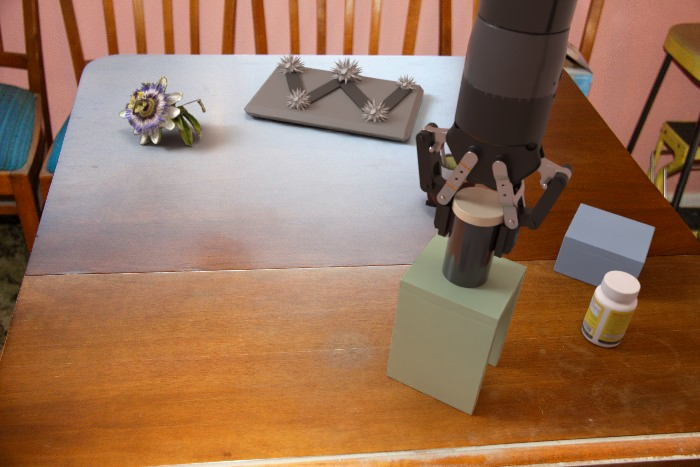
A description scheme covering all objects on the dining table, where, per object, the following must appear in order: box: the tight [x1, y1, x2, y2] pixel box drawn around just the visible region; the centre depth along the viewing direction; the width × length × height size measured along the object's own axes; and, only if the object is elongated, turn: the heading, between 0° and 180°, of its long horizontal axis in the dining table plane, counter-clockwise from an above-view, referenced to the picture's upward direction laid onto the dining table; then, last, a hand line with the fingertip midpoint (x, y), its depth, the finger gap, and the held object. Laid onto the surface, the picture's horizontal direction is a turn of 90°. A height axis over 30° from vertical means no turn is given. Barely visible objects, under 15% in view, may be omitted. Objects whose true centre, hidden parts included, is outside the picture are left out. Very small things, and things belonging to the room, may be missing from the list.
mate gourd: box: [425, 146, 476, 208], centre depth 93 cm, size 8×8×15 cm
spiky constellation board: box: [243, 53, 425, 142], centre depth 121 cm, size 30×22×7 cm
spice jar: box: [442, 186, 504, 288], centre depth 62 cm, size 5×5×8 cm
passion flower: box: [118, 75, 207, 147], centre depth 108 cm, size 11×11×12 cm
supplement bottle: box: [581, 271, 641, 348], centre depth 76 cm, size 5×5×8 cm
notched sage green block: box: [385, 232, 528, 416], centre depth 69 cm, size 10×9×14 cm
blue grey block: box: [553, 203, 656, 288], centre depth 88 cm, size 10×9×6 cm
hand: (472, 241), depth 62 cm, fingers closed on spice jar, 5 cm apart
